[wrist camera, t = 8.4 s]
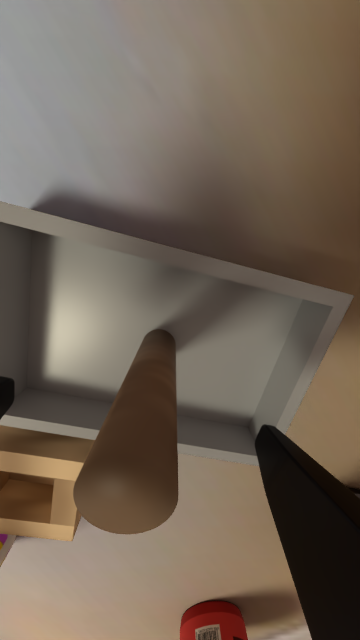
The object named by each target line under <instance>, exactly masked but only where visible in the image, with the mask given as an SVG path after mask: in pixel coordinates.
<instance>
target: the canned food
mask: <svg viewBox="0 0 360 640" xmlns="http://www.w3.org/2000/svg"><path fill="white" fill-rule="evenodd" d="M180 640H248V638H247V633H246V628H245V623H244V620H243V617H242V615H241V612H240V610H239V609H238V608H237V607H236V606H235V605H234V604H232V603H229V602H226V601H207V602H203V603H199V604H197V605H194V606H192V607H191V608H189V609H188V610H187V611H186V612H185V613H184V615H183V616H182V620H181V627H180Z"/></svg>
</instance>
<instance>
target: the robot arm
mask: <svg viewBox="0 0 360 640" xmlns="http://www.w3.org/2000/svg"><path fill="white" fill-rule="evenodd" d="M14 398H15V381H14V379H13V378H9V377H4V376H0V420H1V418H2V417H3V416H4V415H5V413H6V412H7V411H8V409H9V408H10V407H11V406H12V404H13V402H14ZM255 450H256V454H257V459H258V463H259V467H260V472H261V476H262V480H263V484H264V489H265V492H266V496H267V499H268V503H269V506H270V509H271V512H272V515H273V518H274V522H275V525H276V528H277V531H278V534H279V537H280V540H281V544H282V547H283V550H284V553H285V556H286V559H287V562H288V565H289V569H290V572H291V575H292V578H293V581H294V584H295V587H296V591H297V594H298V597H299V600H300V603H301V606H302V609H303V612H304V616H305V619H306V622H307V625H308V628H309V631H310V634H311V638H312V640H360V490H357V489H350V488H347V487H346V486H345V485H343V484H342V483H341V482H340V481H339V480H337V479H336V478H335V477H334V476H333V475H332V474H330V473H329V472H328V471H327V470H326V469H324V468H323V467H322V466H321V465H320V464H319V463H317V462H316V461H315V460H314V459H313V458H312V457H310V456H309V455H308V454H307V453H306V452H304V451H303V450H302V449H301V448H300V447H299V446H297V445H296V444H295V443H294V442H293V441H291V440H290V439H289V438H288V437H287V436H286V435H284V434H283V433H282V432H281V431H280V430H278V429H277V428H276V427H275V426H272V425H267V424H263V425H262V426H261V428H260V430H259V432H258V435H257V437H256V439H255Z"/></svg>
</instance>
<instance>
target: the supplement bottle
mask: <svg viewBox="0 0 360 640" xmlns="http://www.w3.org/2000/svg"><path fill="white" fill-rule="evenodd" d="M15 538H16V535H8V534H0V567H1V565H2V563H3V561H4V560H5V558H6V556H7V554H8V552H9V551H10V549H11V547H12V545H13V543H14V541H15Z"/></svg>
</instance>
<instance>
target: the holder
mask: <svg viewBox="0 0 360 640" xmlns="http://www.w3.org/2000/svg"><path fill="white" fill-rule="evenodd" d="M94 441H95V440H91V439H85V438H79V437H72V436H66V435H60V434H53V433H47V432H41V431H34V430H28V429H22V428H16V427H9V426H3V425H0V534H8V535H18V536H27V537H37V538H46V539H55V540H65V541H72V540H73V538H74V535H75V532H76V529H77V527H78V524H79V521H80V518H81V514H80V512H79V511H78V509H77V507H76V505H75V502H74V498H73V488H74V484H75V482H76V479H77V477H78V475H79V473H80V471H81V469H82V467H83V465H84V462H85V460H86V458H87V456H88V454H89V452H90V450H91V448H92V446H93V444H94Z"/></svg>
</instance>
